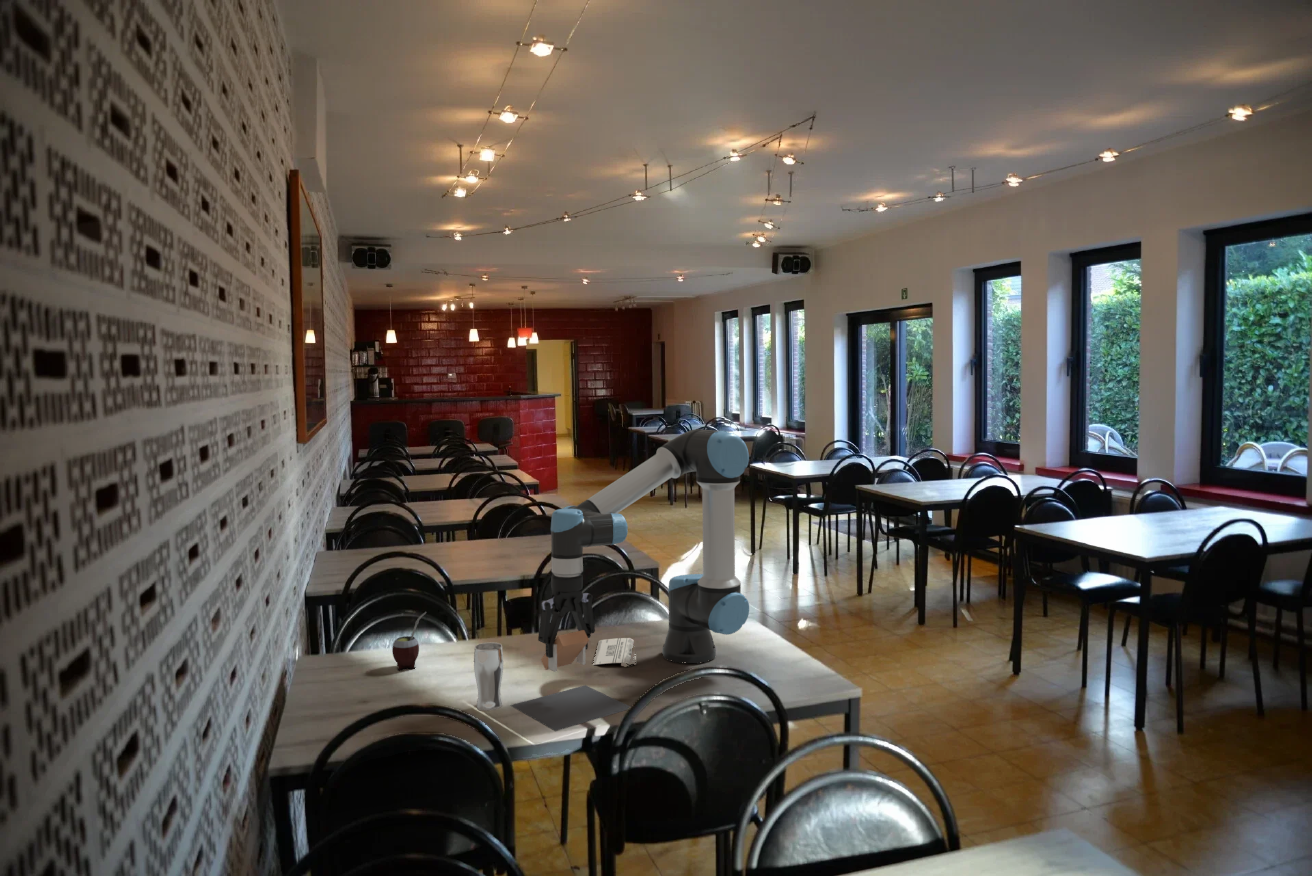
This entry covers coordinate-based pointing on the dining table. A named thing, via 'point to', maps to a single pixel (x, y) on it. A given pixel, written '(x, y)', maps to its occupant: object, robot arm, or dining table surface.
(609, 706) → the rubber mat
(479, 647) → the beer glass
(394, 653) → the mate gourd
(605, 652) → the newspaper
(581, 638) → the card deck box
